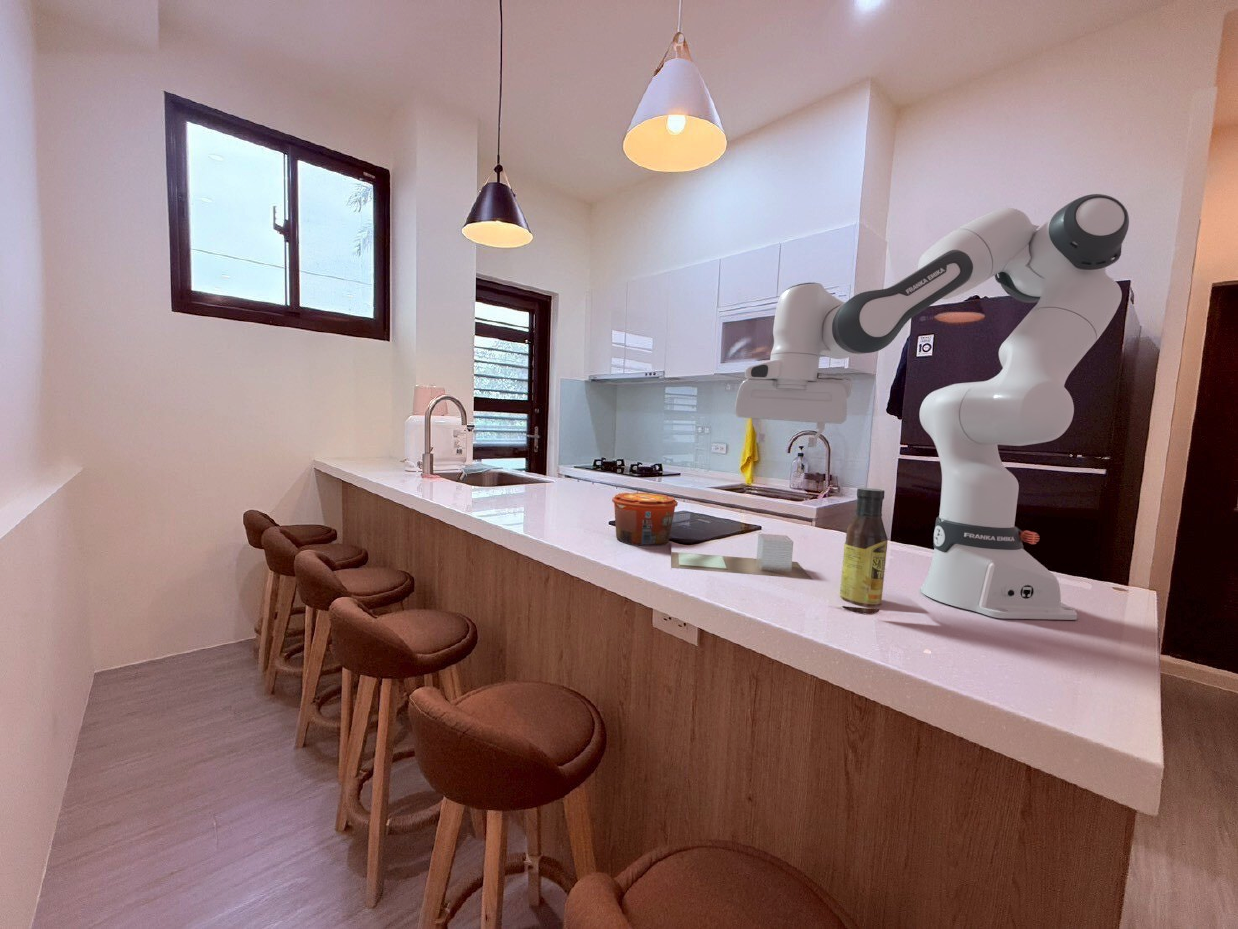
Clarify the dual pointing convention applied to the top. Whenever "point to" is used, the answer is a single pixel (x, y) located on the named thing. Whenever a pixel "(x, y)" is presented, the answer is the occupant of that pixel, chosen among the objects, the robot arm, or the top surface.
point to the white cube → (774, 553)
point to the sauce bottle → (865, 553)
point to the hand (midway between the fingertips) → (785, 444)
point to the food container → (643, 518)
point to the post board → (730, 565)
